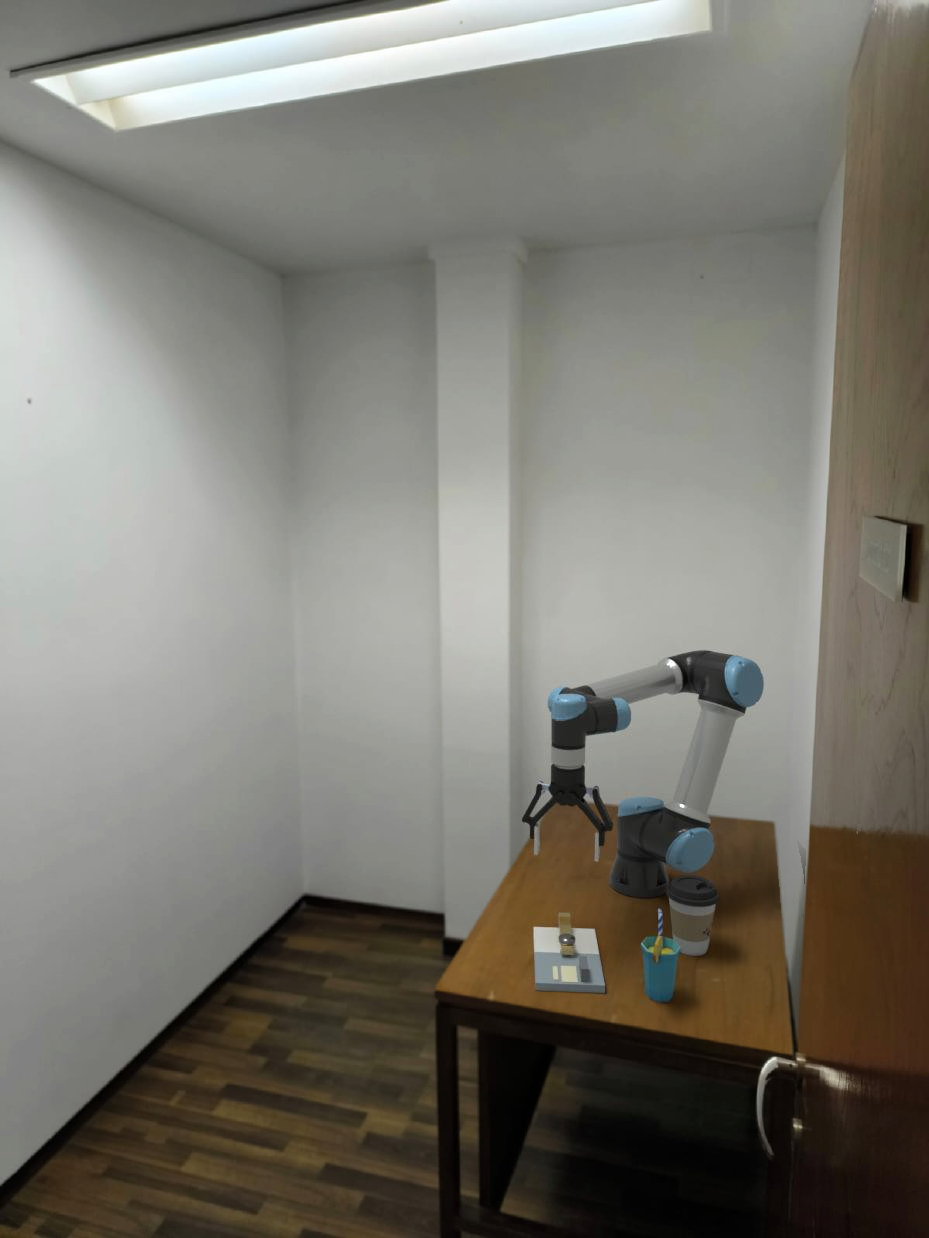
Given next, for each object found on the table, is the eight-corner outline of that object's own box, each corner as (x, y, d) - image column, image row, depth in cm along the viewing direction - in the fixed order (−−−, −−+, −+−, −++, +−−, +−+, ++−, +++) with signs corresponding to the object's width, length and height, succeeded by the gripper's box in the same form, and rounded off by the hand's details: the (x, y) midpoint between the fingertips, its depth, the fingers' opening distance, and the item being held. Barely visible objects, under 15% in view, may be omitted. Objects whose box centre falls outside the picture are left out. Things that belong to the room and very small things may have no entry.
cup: (639, 971, 172) (641, 904, 170) (677, 975, 170) (679, 907, 169) (639, 1009, 158) (641, 937, 157) (680, 1014, 157) (683, 941, 155)
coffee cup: (710, 966, 174) (713, 899, 172) (658, 952, 179) (660, 888, 178) (722, 942, 184) (724, 879, 182) (672, 930, 189) (674, 868, 187)
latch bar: (575, 954, 174) (575, 941, 174) (558, 954, 174) (559, 941, 174) (571, 925, 187) (572, 912, 187) (556, 924, 187) (556, 912, 187)
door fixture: (594, 935, 187) (594, 917, 186) (604, 992, 164) (605, 972, 164) (533, 933, 188) (533, 915, 187) (535, 990, 165) (535, 969, 164)
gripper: (626, 763, 180) (624, 855, 183) (516, 755, 187) (515, 843, 190) (623, 773, 173) (621, 868, 176) (509, 764, 180) (508, 856, 182)
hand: (566, 855), depth 183 cm, fingers open, 13 cm apart
